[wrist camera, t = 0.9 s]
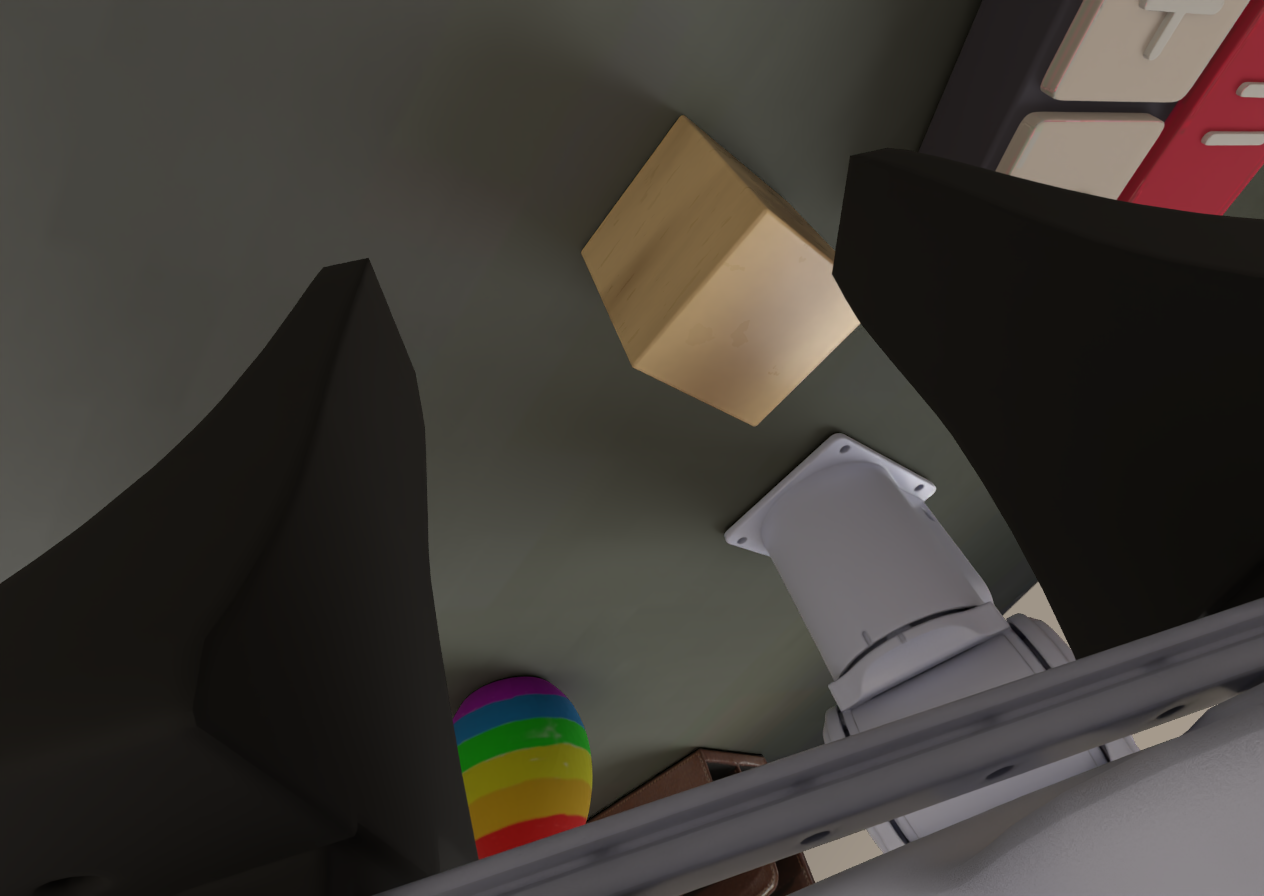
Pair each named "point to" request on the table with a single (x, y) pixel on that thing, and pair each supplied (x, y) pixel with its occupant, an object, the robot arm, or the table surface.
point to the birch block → (716, 279)
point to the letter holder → (747, 892)
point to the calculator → (1112, 98)
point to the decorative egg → (522, 763)
